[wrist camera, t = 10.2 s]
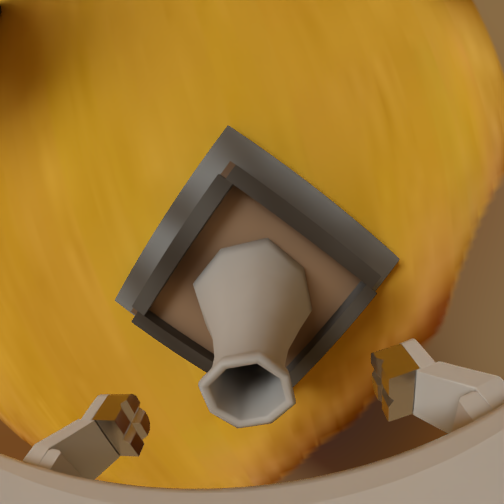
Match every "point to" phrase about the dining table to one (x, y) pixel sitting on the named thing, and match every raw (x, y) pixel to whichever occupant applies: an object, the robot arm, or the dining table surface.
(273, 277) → the flask
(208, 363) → the walnut plinth
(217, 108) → the dining table surface
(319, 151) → the dining table surface
